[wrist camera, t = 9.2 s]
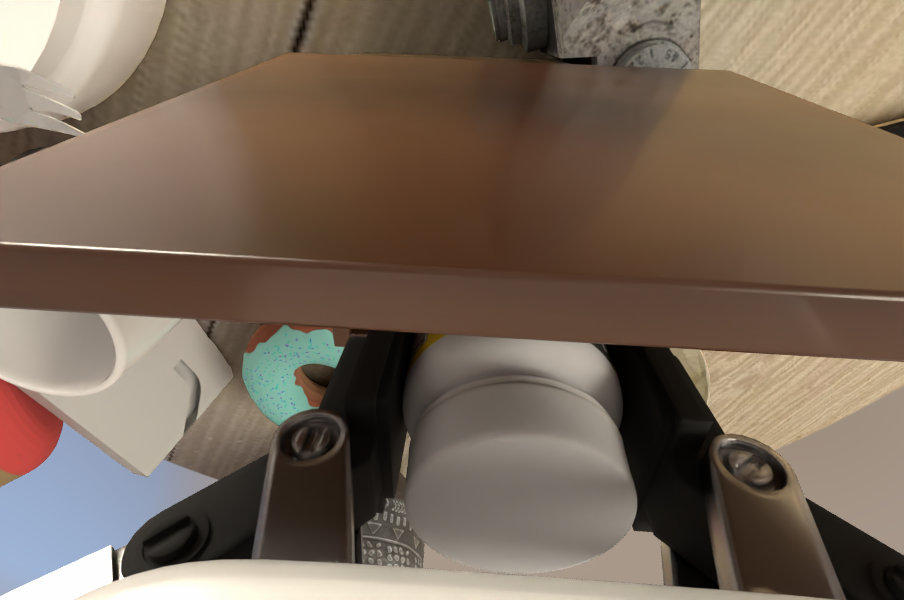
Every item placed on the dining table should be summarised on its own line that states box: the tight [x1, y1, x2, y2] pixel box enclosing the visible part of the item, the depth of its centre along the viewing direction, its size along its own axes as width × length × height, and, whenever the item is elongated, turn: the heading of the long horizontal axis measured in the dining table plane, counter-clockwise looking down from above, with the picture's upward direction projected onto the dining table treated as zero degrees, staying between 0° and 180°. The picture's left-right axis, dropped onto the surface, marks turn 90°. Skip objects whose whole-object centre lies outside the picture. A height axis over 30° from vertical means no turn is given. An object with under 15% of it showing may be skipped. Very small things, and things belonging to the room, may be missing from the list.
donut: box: [242, 324, 344, 426], centre depth 32 cm, size 12×12×4 cm
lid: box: [0, 53, 904, 362], centre depth 9 cm, size 12×14×1 cm
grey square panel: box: [15, 319, 234, 477], centre depth 30 cm, size 12×11×4 cm
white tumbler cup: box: [0, 308, 182, 397], centre depth 21 cm, size 7×7×15 cm
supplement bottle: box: [402, 333, 637, 574], centre depth 11 cm, size 5×5×8 cm
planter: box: [362, 473, 424, 568], centre depth 36 cm, size 12×12×13 cm
